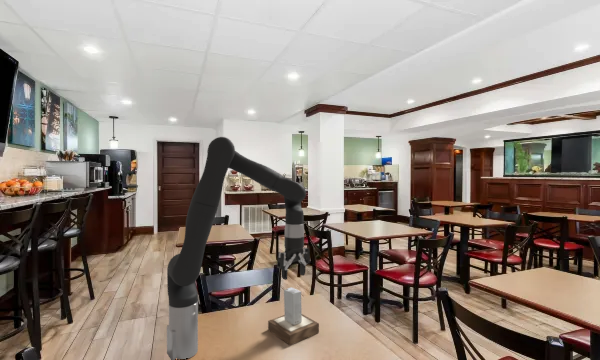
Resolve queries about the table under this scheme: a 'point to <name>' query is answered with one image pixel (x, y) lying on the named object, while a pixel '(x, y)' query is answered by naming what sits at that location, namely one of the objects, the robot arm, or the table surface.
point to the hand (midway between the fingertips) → (293, 277)
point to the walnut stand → (293, 329)
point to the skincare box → (292, 306)
